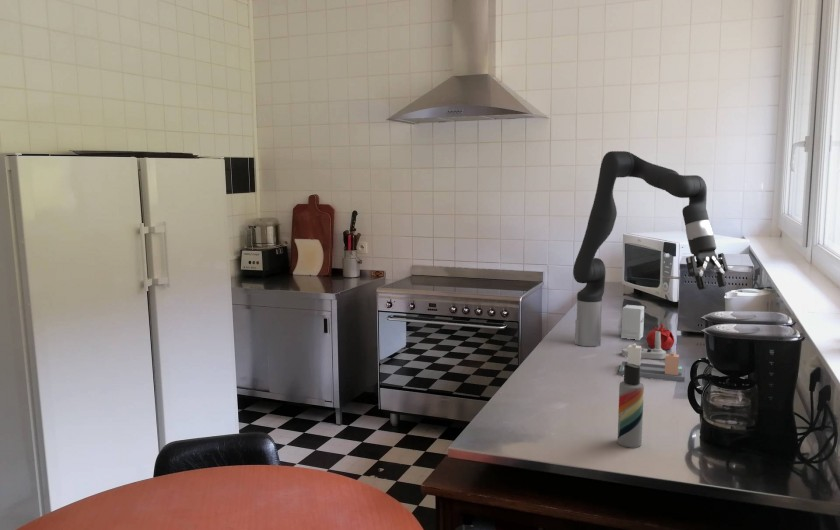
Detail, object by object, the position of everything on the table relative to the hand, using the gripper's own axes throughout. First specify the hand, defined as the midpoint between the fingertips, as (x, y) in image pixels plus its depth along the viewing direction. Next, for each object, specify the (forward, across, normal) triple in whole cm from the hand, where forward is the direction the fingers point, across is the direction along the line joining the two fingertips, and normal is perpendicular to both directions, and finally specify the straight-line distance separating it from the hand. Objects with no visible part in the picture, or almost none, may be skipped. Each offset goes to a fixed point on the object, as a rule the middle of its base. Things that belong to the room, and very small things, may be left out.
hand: (712, 288), depth 205 cm
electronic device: (+18, -5, -41) cm, 45 cm away
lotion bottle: (+37, +54, +13) cm, 67 cm away
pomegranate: (+16, -18, -46) cm, 52 cm away
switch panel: (+23, +7, -25) cm, 35 cm away
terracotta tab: (+24, +6, -18) cm, 31 cm away
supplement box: (+10, -20, -62) cm, 66 cm away
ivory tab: (+20, +9, -31) cm, 38 cm away
